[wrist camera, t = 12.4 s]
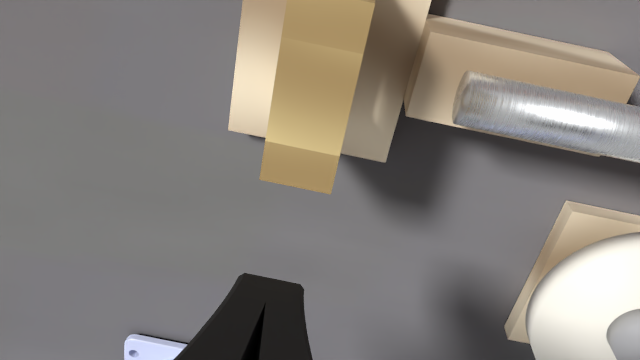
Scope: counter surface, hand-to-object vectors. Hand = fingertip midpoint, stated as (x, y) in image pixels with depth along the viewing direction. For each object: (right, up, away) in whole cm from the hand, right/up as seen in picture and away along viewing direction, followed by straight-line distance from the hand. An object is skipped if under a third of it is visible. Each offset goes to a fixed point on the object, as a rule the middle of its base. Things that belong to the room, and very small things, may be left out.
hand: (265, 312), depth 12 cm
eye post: (+5, +7, +7) cm, 11 cm away
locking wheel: (+14, -2, +10) cm, 17 cm away
